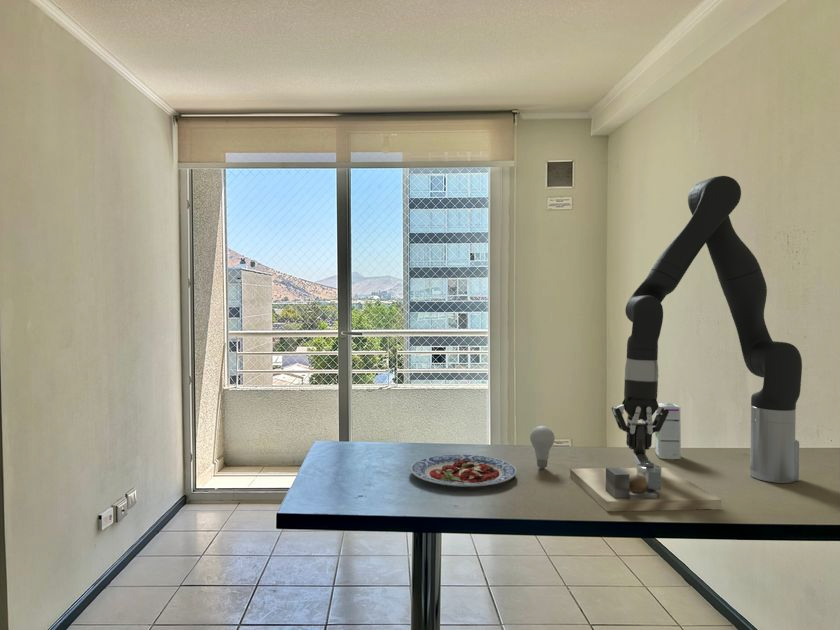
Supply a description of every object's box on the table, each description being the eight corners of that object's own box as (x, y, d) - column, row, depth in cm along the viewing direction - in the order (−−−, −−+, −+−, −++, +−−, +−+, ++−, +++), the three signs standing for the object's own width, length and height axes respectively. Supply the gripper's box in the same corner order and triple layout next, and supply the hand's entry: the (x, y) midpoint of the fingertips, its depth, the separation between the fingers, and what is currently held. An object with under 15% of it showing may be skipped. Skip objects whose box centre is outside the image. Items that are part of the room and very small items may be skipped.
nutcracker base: (665, 475, 139) (666, 447, 139) (721, 509, 116) (721, 475, 116) (570, 476, 138) (570, 448, 137) (606, 511, 115) (607, 477, 114)
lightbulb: (556, 467, 146) (556, 424, 146) (551, 473, 140) (551, 429, 140) (533, 464, 148) (533, 422, 148) (527, 470, 143) (527, 427, 143)
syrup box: (681, 460, 153) (681, 406, 153) (658, 458, 154) (658, 405, 154) (676, 454, 159) (676, 403, 158) (653, 453, 160) (654, 402, 160)
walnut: (643, 489, 121) (640, 471, 121) (652, 495, 117) (649, 476, 117) (625, 493, 121) (622, 474, 121) (633, 498, 117) (630, 479, 117)
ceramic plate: (458, 457, 156) (458, 446, 156) (537, 477, 138) (537, 465, 138) (388, 476, 138) (388, 464, 138) (468, 503, 120) (468, 489, 120)
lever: (649, 463, 138) (649, 423, 138) (667, 490, 117) (667, 443, 117) (627, 461, 139) (628, 422, 139) (641, 488, 118) (642, 442, 118)
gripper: (662, 376, 141) (659, 445, 141) (606, 375, 140) (604, 444, 141) (677, 380, 133) (674, 453, 134) (618, 379, 133) (616, 452, 133)
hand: (638, 448), depth 137 cm, fingers closed on lever, 3 cm apart
